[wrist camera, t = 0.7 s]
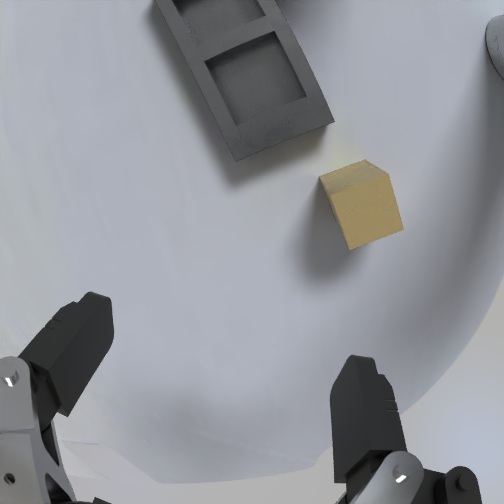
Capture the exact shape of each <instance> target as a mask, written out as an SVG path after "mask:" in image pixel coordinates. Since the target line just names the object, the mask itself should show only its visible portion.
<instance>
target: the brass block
mask: <svg viewBox="0 0 504 504" xmlns="http://www.w3.org/2000/svg"><path fill="white" fill-rule="evenodd" d="M319 177H320V180H321V182H322V185H323V187H324V190H325V192H326V195H327V198H328V200H329V203H330V206H331V208H332V211H333V214H334V216H335V219H336V222H337V224H338V226H339V228H340V230H341V232H342V234H343V237H344V239H345V241H346V243H347V245H348V248H349V250H352V249H354V248H357V247H360V246H362V245H365V244H367V243H370V242H373V241H375V240H378V239H381V238H383V237H386V236H388V235H391V234H394V233H396V232H399V231H401V230H404V229H403V225H402V221H401V217H400V213H399V209H398V206H397V202H396V198H395V195H394V191H393V188H392V185H391V181H390V178H389V175H388V173H386V172H385V171H383V170H382V169H380V168H378V167H377V166H375V165H374V164H372V163H370V162H369V161H367V160H362V161H359V162H356V163H354V164H351V165H348V166H346V167H343V168H340V169H338V170H335V171H332V172H330V173H327V174H324V175H322V176H319Z"/></svg>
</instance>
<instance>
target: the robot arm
mask: <svg viewBox="0 0 504 504" xmlns="http://www.w3.org/2000/svg"><path fill="white" fill-rule="evenodd" d="M486 41H487V47H488V51H489V54H490V57H491V59H492V62H493V64H494V66H495V68H496V69H497V71H498V73H499V74H500V75H501V77H502V78H503V79H504V15H500V16H497V17H495V18H493V19H492V20H491V21H490V22H489V24H488V26H487V31H486ZM113 338H114V326H113V315H112V303H111V299H110V298H109V297H106V296H103V295H99V294H96V293H93V292H88V293H86V294H85V295H84V297H83V298H82V299H81V300H80V301H79V302H78V303H76V302H74V301H73V302H71V303H69V304H68V305H66V306H64V307H62V308H60V310H59V311H58V312H57V313H56V314H55V315H54V316H53V317H52V320H49V322H48V323H47V324H46V325H45V328H44V327H43V328H42V329H41V331H40V332H39V333H38V334H37V335H36V336H35V337H34V339H33V340H32V341H31V342H30V343H29V344H28V346H27V347H26V348H25V349H24V350H23V351H22V353H21V354H20V355H19V356H18V357H13V356H9V357H4V358H2V359H0V504H111V503H108V502H106V501H103V500H101V499H99V498H96V497H95V498H94V501H93V503H90V502H82V501H77V500H76V498H75V494H74V492H73V489H72V486H71V484H70V482H69V479H68V478H67V475H66V473H65V470H64V467H63V463H62V459H61V455H60V450H59V446H58V441H57V436H56V431H55V426H54V421H53V418H54V416H55V414H56V413H57V412H58V413H60V414H62V415H64V416H66V417H68V416H69V414H70V413H71V411H72V409H73V407H74V406H75V404H76V402H77V401H78V399H79V397H80V396H81V394H82V392H83V391H84V389H85V387H86V386H87V384H88V382H89V381H90V379H91V378H92V376H93V374H94V373H95V371H96V370H97V368H98V366H99V365H100V363H101V362H102V360H103V358H104V357H105V355H106V354H107V352H108V351H109V349H110V347H111V345H112V342H113ZM330 409H331V423H332V440H333V459H334V483H346V488H347V489H346V490H347V491H346V492H344V493H343V494H342V496H341V497H340V498H339V499H338V501H337V502H336V503H335V504H482V500H481V495H480V490H479V485H478V481H477V478H476V476H475V474H474V473H473V472H472V471H471V470H470V469H468V468H467V467H463V466H457V467H454V468H453V469H451V470H450V471H449V472H447V473H446V474H444V473H440V472H436V471H431V470H427V469H424V468H423V466H422V464H421V462H420V461H419V459H418V458H417V457H416V456H414V455H413V454H411V453H409V452H408V451H407V448H406V443H405V439H404V434H403V430H402V425H401V421H400V417H399V412H397V410H398V408H397V404H396V402H395V396H394V393H393V389H392V386H391V385H390V383H389V382H388V380H387V379H386V377H385V376H384V375H382V374H378V373H377V369H376V365H375V361H374V359H373V358H370V357H363V356H356V355H351V356H349V358H348V359H347V361H346V363H345V365H344V366H343V368H342V370H341V372H340V374H339V375H338V377H337V379H336V381H335V382H334V384H333V387H332V390H331V394H330Z"/></svg>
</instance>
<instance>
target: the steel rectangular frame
mask: <svg viewBox="0 0 504 504" xmlns="http://www.w3.org/2000/svg"><path fill="white" fill-rule="evenodd" d="M155 1H156V3H157V5H158V7H159V9H160V10H161V12H162V14H163V16H164V18H165V20H166V22H167V24H168V26H169V28H170V30H171V32H172V34H173V36H174V37H175V39H176V41H177V43H178V45H179V47H180V49H181V51H182V53H183V55H184V57H185V59H186V61H187V63H188V65H189V67H190V69H191V71H192V73H193V75H194V77H195V79H196V81H197V83H198V85H199V87H200V89H201V91H202V93H203V95H204V97H205V99H206V101H207V103H208V105H209V107H210V109H211V111H212V113H213V115H214V117H215V119H216V122H217V124H218V126H219V128H220V130H221V132H222V134H223V136H224V138H225V140H226V142H227V144H228V146H229V148H230V150H231V153H232V155H233V157H234V159H235V161H236V162H237V161H239V160H241V159H243V158H246V157H248V156H250V155H252V154H255V153H257V152H259V151H262V150H264V149H267V148H269V147H271V146H274V145H276V144H279V143H281V142H284V141H286V140H289V139H291V138H294V137H296V136H299V135H301V134H304V133H306V132H309V131H312V130H314V129H317V128H319V127H322V126H325V125H328V124H330V123H333V122H335V121H334V119H333V116H332V114H331V111H330V109H329V107H328V104H327V102H326V100H325V98H324V95H323V93H322V91H321V89H320V86H319V84H318V82H317V80H316V78H315V76H314V74H313V72H312V69H311V67H310V65H309V63H308V61H307V59H306V57H305V55H304V53H303V51H302V49H301V47H300V45H299V43H298V41H297V40H296V38H295V36H294V34H293V32H292V30H291V28H290V26H289V25H288V23H287V21H286V19H285V17H284V16H283V14H282V12H281V10H280V9H279V7H278V5H277V3H276V2H275V0H155Z"/></svg>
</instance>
